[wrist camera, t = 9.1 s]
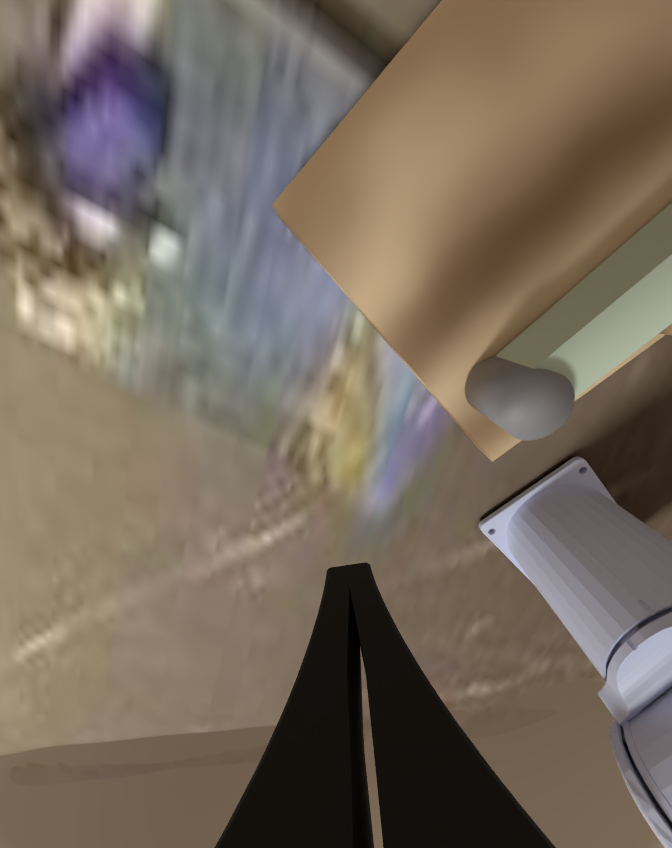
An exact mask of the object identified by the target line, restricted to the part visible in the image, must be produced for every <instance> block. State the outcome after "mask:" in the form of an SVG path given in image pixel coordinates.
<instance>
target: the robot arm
mask: <svg viewBox="0 0 672 848" xmlns="http://www.w3.org/2000/svg"><path fill="white" fill-rule="evenodd" d="M581 468H582V469H581ZM580 469H581V470H580ZM479 528H480V529H481V531H482V532H483V533H484V534H485V535H486V536H487V537H488V538H489V539H490V540H491V541H492V542H493V543H494V544H495V545H496V546H497V547H498V548H499V549H500V550H501V551H502V552H503V553H504V554H505V555H506V556H507V557H508V559H509V560H510V561H511V562H512V563H513V564H514V565H515V566H516V567H517V568H518V569H519V570H520V571H521V572H522V573H523V574H524V575H525V576H526V577H527V578H528V579H529V580H530V581H531V582H532V583H533V584H534V585H535V586H536V588H537V589H538V590H539V592H540V593H541V594H542V596H543V597H544V598H545V600H546V601H547V602H548V604H549V605H550V607H551V608H552V609H553V611H554V612H555V613H556V615H557V616H558V617H559V619H560V620H561V621H562V623H563V624H564V625H565V627H566V628H567V630H568V631H569V632H570V634H571V635H572V636H573V638H574V639H575V640H576V642H577V643H578V644H579V646H580V647H581V648H582V650H583V651H584V653H585V654H586V655H587V657H588V658H589V659H590V661H591V662H592V663H593V665H594V666H595V667H596V669H597V670H598V672H599V673H600V674H601V676H602V677H603V678H604V680H605V681H606V683H605V685H604V686H603V688H602V689H600V691H599V692H598V695H599V696H600V698H601V699H602V700H603V702H604V703H605V705H606V706H607V708H608V709H609V711H610V712H611V713H612V715H613V716H614V718H615V719H614V720H613V722H612V724H611V727H610V741H611V747H612V750H613V753H614V756H615V759H616V762H617V764H618V766H619V769H620V771H621V773H622V776H623V778H624V781H625V782H626V785H627V787H628V789H629V791H630V793H631V795H632V797H633V799H634V801H635V803H636V804H637V806H638V808H639V810H640V811H641V813H642V815H643V816H644V818H645V819H646V821H647V823H648V824H649V826H650V827H651V829H652V830H653V831H654V833H655V834H656V836H657V837H658V839H659V840H660V842H661V843H662V844H663V846H664V847H665V848H672V542H670V541H669V540H667V539H666V538H665V537H663V536H662V535H660V534H659V533H657V532H656V531H655V530H653V529H652V528H650V527H649V526H647V525H646V524H645V523H643V522H642V521H640V520H639V519H637V518H636V517H635V516H633V515H632V514H630V513H629V512H627V511H626V510H625V509H623V508H622V507H620V506H619V505H617V503H616V502H615V501H614V499H613V498H612V496H611V495H610V494H609V492H608V491H607V489H606V488H605V487H604V485H603V484H602V482H601V481H600V480H599V478H598V477H597V475H596V474H595V473H594V471H593V470H592V468H591V467H590V466H589V464H588V463H587V461H586V460H585V459H583V458H581V457H578V456H577V457H574V458H572V459H570V460H569V461H567V462H566V463H564V464H563V465H562V466H560V467H559V468H557V469H556V470H554V471H553V472H551V473H550V474H548V475H547V476H546V477H544V478H543V479H541V480H540V481H538V482H537V483H535V484H534V485H532V486H531V487H530V488H528V489H527V490H525V491H524V492H522V493H521V494H519V495H518V496H516V497H515V498H514V499H512V500H511V501H509V502H508V503H506V504H505V505H503V506H502V507H501V508H499V509H498V510H496V511H495V512H493V513H492V514H490V515H489V516H487V517H486V518H485V519H483V520H482V521H481V522H480V523H479ZM490 529H492V530H490ZM489 530H490V531H489ZM360 647H361V652H362V657H363V662H364V667H365V672H366V680H367V689H368V698H369V708H370V717H371V727H372V737H373V746H374V756H375V766H376V776H377V786H378V796H379V806H380V816H381V826H382V836H383V847H384V848H556V847H555V846H554V845H553V844H552V843H551V842H550V840H549V839H548V838H547V837H546V836H545V834H544V833H543V832H542V831H541V830H540V828H539V827H538V826H537V825H536V824H535V822H534V821H533V820H532V819H531V817H530V816H529V815H528V814H527V813H526V811H525V810H524V809H523V808H522V807H521V805H520V804H519V803H518V802H517V801H516V799H515V798H514V797H513V795H512V794H511V793H510V791H509V790H508V789H507V788H506V786H505V785H504V784H503V783H502V782H501V780H500V779H499V778H498V776H497V775H496V774H495V773H494V771H493V770H492V769H491V767H490V766H489V765H488V763H487V762H486V761H485V760H484V758H483V757H482V755H481V754H480V753H479V751H478V750H477V749H476V747H475V746H474V745H473V743H472V742H471V741H470V739H469V738H468V737H467V735H466V734H465V733H464V731H463V730H462V729H461V727H460V726H459V725H458V723H457V722H456V721H455V719H454V718H453V716H452V715H451V713H450V712H449V710H448V709H447V707H446V706H445V705H444V703H443V702H442V700H441V699H440V697H439V696H438V694H437V693H436V691H435V690H434V688H433V687H432V685H431V684H430V682H429V681H428V679H427V678H426V676H425V675H424V673H423V671H422V670H421V668H420V667H419V665H418V663H417V662H416V660H415V658H414V657H413V655H412V653H411V652H410V650H409V648H408V647H407V645H406V643H405V641H404V640H403V638H402V636H401V634H400V633H399V631H398V629H397V627H396V625H395V623H394V621H393V619H392V617H391V615H390V613H389V612H388V610H387V608H386V605H385V603H384V601H383V599H382V597H381V594H380V592H379V590H378V587H377V585H376V582H375V580H374V577H373V574H372V571H371V567H370V564H368V563H360V564H353V565H346V566H339V567H332V568H329V569H328V570H327V574H326V581H325V587H324V591H323V596H322V600H321V604H320V608H319V612H318V615H317V619H316V622H315V626H314V629H313V632H312V636H311V639H310V642H309V645H308V648H307V650H306V653H305V656H304V659H303V662H302V665H301V668H300V670H299V673H298V676H297V678H296V681H295V683H294V686H293V689H292V691H291V694H290V696H289V698H288V701H287V703H286V705H285V708H284V710H283V713H282V715H281V717H280V719H279V722H278V724H277V726H276V728H275V730H274V733H273V735H272V737H271V739H270V741H269V744H268V746H267V748H266V750H265V752H264V754H263V756H262V758H261V760H260V763H259V765H258V767H257V769H256V771H255V773H254V775H253V777H252V779H251V781H250V782H249V784H248V786H247V788H246V790H245V792H244V794H243V796H242V798H241V800H240V802H239V804H238V805H237V807H236V809H235V811H234V813H233V815H232V817H231V819H230V821H229V823H228V825H227V826H226V828H225V830H224V832H223V834H222V836H221V838H220V839H219V841H218V843H217V845H216V846H215V848H374V844H373V843H374V842H373V833H372V824H371V813H370V805H369V794H368V784H367V774H366V765H365V754H364V738H363V715H362V687H361V659H360Z"/></svg>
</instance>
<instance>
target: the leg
mask: <svg viewBox="0 0 672 848" xmlns="http://www.w3.org/2000/svg"><path fill="white" fill-rule="evenodd" d="M670 324H672V203H670V204H669V205H668V206H667V207H666V208H665V209H664V210H662V211H661V212H660V213H659V214H658V215H657V216H656V217H654V218H653V219H652V220H651V221H650V222H649V223H647V224H646V225H645V226H644V227H643V228H642V229H641V230H639V231H638V232H637V233H636V234H635V235H634V236H633V237H631V238H630V239H629V240H628V241H627V242H626V243H624V244H623V245H622V246H621V247H620V248H619V249H618V250H616V251H615V252H614V253H613V254H612V255H611V256H610V257H608V258H607V259H606V260H605V261H604V262H603V263H601V264H600V265H599V266H598V267H597V268H596V269H595V270H593V271H592V272H591V273H590V274H589V275H588V276H587V277H585V278H584V279H583V280H582V281H581V282H580V283H579V284H577V285H576V286H575V287H574V288H573V289H572V290H570V291H569V292H568V293H567V294H566V295H565V296H564V297H562V298H561V299H560V300H559V301H558V302H557V303H556V304H554V305H553V306H552V307H551V308H550V309H549V310H547V311H546V312H545V313H544V314H543V315H542V316H541V317H539V318H538V319H537V320H536V321H535V322H534V323H533V324H531V325H530V326H529V327H528V328H527V329H526V330H524V331H523V332H522V333H521V334H520V335H519V336H518V337H516V338H515V339H514V340H513V341H512V342H511V343H510V344H508V345H507V346H506V347H505V348H504V349H503V350H502V351H500V352H499V353H498V354H497V355H496V356H493V357H489V358H487V359H485V360H483V361H481V362H480V363H479V364H477V365H476V366H475V367H474V368H473V369H472V371H471V372H470V374H469V375H468V377H467V380H466V384H465V396H466V399H467V401H468V403H469V404H470V405H471V406H472V407H473V408H474V409H476V410H477V411H478V412H480V413H481V414H483V415H484V416H485V417H487V418H488V419H489V420H491V421H492V422H494V423H495V424H496V425H498V426H499V427H500V428H502V429H503V430H504V431H506V432H507V433H509V434H510V435H511V436H513V437H515V438H517V439H520V440H537V439H541V438H544V437H546V436H548V435H550V434H552V433H553V432H555V431H556V430H557V429H558V428H560V427H561V426H562V425H563V424H564V422H565V421H566V420H567V418H568V417H569V415H570V413H571V411H572V409H573V406H574V400H575V398H576V397H577V396H578V395H580V394H581V393H582V392H584V391H585V390H586V389H587V388H589V387H590V386H591V385H593V384H594V383H595V382H597V381H598V380H599V379H600V378H602V377H603V376H604V375H606V374H607V373H608V372H610V371H611V370H612V369H613V368H615V367H616V366H617V365H619V364H620V363H621V362H622V361H624V360H625V359H626V358H628V357H629V356H630V355H632V354H633V353H634V352H635V351H637V350H638V349H639V348H641V347H642V346H643V345H645V344H646V343H647V342H648V341H650V340H651V339H652V338H654V337H655V336H656V335H657V334H659V333H660V332H661V331H663V330H664V329H665V328H667V327H668V326H669V325H670Z"/></svg>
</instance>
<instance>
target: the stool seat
mask: <svg viewBox="0 0 672 848" xmlns="http://www.w3.org/2000/svg"><path fill="white" fill-rule="evenodd" d="M670 203H672V0H442V1H441V2H440V3H439V4H438V5H437V7H436V8H435V9H434V10H433V11H432V13H431V14H430V15H429V16H428V17H427V19H426V20H425V21H424V22H423V23H422V25H421V26H420V27H419V28H418V30H417V31H416V32H415V33H414V34H413V36H412V37H411V38H410V39H409V40H408V42H407V43H406V44H405V45H404V46H403V48H402V49H401V50H400V51H399V52H398V54H397V55H396V56H395V57H394V58H393V60H392V61H391V62H390V63H389V64H388V66H387V67H386V68H385V69H384V70H383V72H382V73H381V74H380V75H379V77H378V78H377V79H376V80H375V81H374V83H373V84H372V85H371V86H370V87H369V89H368V90H367V91H366V92H365V93H364V95H363V96H362V97H361V98H360V99H359V101H358V102H357V103H356V104H355V105H354V107H353V108H352V109H351V110H350V111H349V113H348V114H347V115H346V116H345V117H344V119H343V120H342V121H341V122H340V124H339V125H338V126H337V127H336V128H335V130H334V131H333V132H332V133H331V134H330V136H329V137H328V138H327V139H326V140H325V142H324V143H323V144H322V145H321V146H320V148H319V149H318V150H317V151H316V152H315V154H314V155H313V156H312V157H311V158H310V160H309V161H308V162H307V163H306V164H305V166H304V167H303V168H302V169H301V170H300V172H299V173H298V174H297V175H296V177H295V178H294V179H293V180H292V181H291V183H290V184H289V185H288V186H287V187H286V189H285V190H284V191H283V192H282V193H281V195H280V196H279V197H278V198H277V199H276V201H275V202H274V203H273V204H272V206H273V208H274V209H275V211H276V213H277V215H278V217H279V218H280V219H281V220H282V221H283V223H284V224H285V225H286V226H287V227H288V228H289V229H290V231H291V232H292V233H293V234H294V235H295V236H296V238H297V239H298V240H299V241H300V242H301V243H302V245H303V246H304V247H305V248H306V249H307V250H308V252H309V253H310V254H311V255H312V256H313V257H314V258H315V260H316V261H317V262H318V263H319V264H320V265H321V267H322V268H323V269H324V270H325V271H326V272H327V274H328V275H329V276H330V277H331V278H332V279H333V281H334V282H335V283H336V284H337V285H338V286H339V287H340V289H341V290H342V291H343V292H344V293H345V294H346V296H347V297H348V298H349V299H350V300H351V301H352V303H353V304H354V305H355V306H356V307H357V308H358V310H359V311H360V312H361V313H362V314H363V315H364V316H365V318H366V319H367V320H368V321H369V322H370V323H371V325H372V326H373V327H374V328H375V329H376V330H377V332H378V333H379V334H380V335H381V336H382V337H383V338H384V340H385V341H386V342H387V343H388V344H389V345H390V347H391V348H392V349H393V350H394V351H395V352H396V354H397V355H398V356H399V357H400V358H401V359H402V361H403V362H404V363H405V364H406V365H407V366H408V367H409V369H410V370H411V371H412V372H413V373H414V374H415V376H416V377H417V378H418V379H419V380H420V381H421V383H422V384H423V385H424V386H425V387H426V388H427V390H428V391H429V392H430V393H431V394H432V395H433V396H434V398H435V399H436V400H437V401H438V402H439V403H440V405H441V406H442V407H443V408H444V409H445V410H446V412H447V413H448V414H449V415H450V416H451V417H452V419H453V420H454V421H455V422H456V423H457V424H458V425H459V427H460V428H461V429H462V430H463V431H464V432H465V434H466V435H467V436H468V437H469V438H470V439H471V441H472V442H473V443H474V444H475V445H476V446H477V447H478V448H479V449H480V450H481V451H482V452H483V453H484V454H485V455H486V456H487V457H488V458H489V459H490V460H491V461H492V462H493V461H494V460H495V459H497V458H498V457H500V456H501V455H502V454H504V453H505V452H506V451H508V450H509V449H510V448H512V447H513V446H515V445H516V444H517V443H519V442H520V441H521V440H520V439H517V438H515V437H513V436H511V435H510V434H509V433H507V432H506V431H504V430H503V429H502V428H500V427H499V426H498V425H496V424H495V423H494V422H492V421H491V420H489V419H488V418H487V417H485V416H484V415H483V414H481V413H480V412H478V411H477V410H476V409H474V408H473V407H472V406H471V405H470V404H469V403H468V401H467V399H466V396H465V384H466V380H467V377H468V375H469V374H470V372H471V371H472V369H473V368H474V367H475V366H476V365H477V364H479V363H480V362H481V361H483V360H485V359H487V358H489V357H493V356H496V355H497V354H498V353H499V352H500V351H502V350H503V349H504V348H505V347H506V346H507V345H508V344H510V343H511V342H512V341H513V340H514V339H515V338H516V337H518V336H519V335H520V334H521V333H522V332H523V331H524V330H526V329H527V328H528V327H529V326H530V325H531V324H533V323H534V322H535V321H536V320H537V319H538V318H539V317H541V316H542V315H543V314H544V313H545V312H546V311H547V310H549V309H550V308H551V307H552V306H553V305H554V304H556V303H557V302H558V301H559V300H560V299H561V298H562V297H564V296H565V295H566V294H567V293H568V292H569V291H570V290H572V289H573V288H574V287H575V286H576V285H577V284H579V283H580V282H581V281H582V280H583V279H584V278H585V277H587V276H588V275H589V274H590V273H591V272H592V271H593V270H595V269H596V268H597V267H598V266H599V265H600V264H601V263H603V262H604V261H605V260H606V259H607V258H608V257H610V256H611V255H612V254H613V253H614V252H615V251H616V250H618V249H619V248H620V247H621V246H622V245H623V244H624V243H626V242H627V241H628V240H629V239H630V238H631V237H633V236H634V235H635V234H636V233H637V232H638V231H639V230H641V229H642V228H643V227H644V226H645V225H646V224H647V223H649V222H650V221H651V220H652V219H653V218H654V217H656V216H657V215H658V214H659V213H660V212H661V211H662V210H664V209H665V208H666V207H667V206H668V205H669V204H670ZM664 335H672V324H670V325H669V326H668V327H667V328H665V329H664V330H663V331H661V332H660V333H659V334H657V335H656V336H655V337H654V338H652V339H651V340H650V341H648V342H647V343H646V344H645V345H643V346H642V347H641V348H639V349H638V350H637V351H635V352H634V353H633V354H632V355H630V356H629V357H628V358H626V359H625V360H624V361H622V362H621V363H620V364H619V365H617V366H616V367H615V368H613V369H612V370H611V371H610V372H608V373H607V374H606V375H604V376H603V377H602V378H600V379H599V380H598V381H597V382H595V383H594V384H593V385H591V386H590V387H589V388H587V389H586V390H585V391H584V392H582V393H581V394H580V395H578V396H577V397H576V398H575V400H574V401H576V400H577V399H579V398H580V397H581V396H583V395H584V394H585V393H587V392H588V391H589V390H591V389H592V388H594V387H595V386H596V385H598V384H599V383H600V382H602V381H603V380H604V379H606V378H607V377H608V376H610V375H611V374H613V373H614V372H615V371H617V370H618V369H619V368H621V367H622V366H623V365H625V364H626V363H628V362H629V361H630V360H632V359H633V358H634V357H636V356H637V355H638V354H640V353H641V352H643V351H644V350H645V349H647V348H648V347H649V346H651V345H652V344H653V343H655V342H656V341H657V340H659V339H660V338H662V337H663V336H664Z"/></svg>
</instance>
